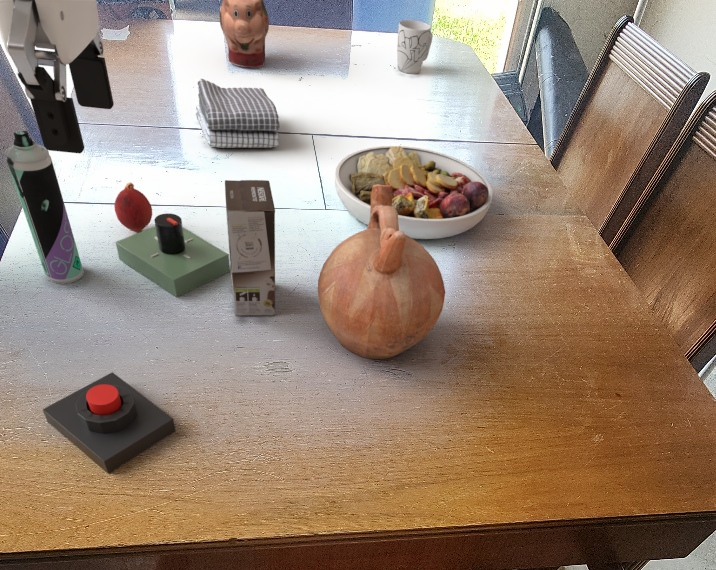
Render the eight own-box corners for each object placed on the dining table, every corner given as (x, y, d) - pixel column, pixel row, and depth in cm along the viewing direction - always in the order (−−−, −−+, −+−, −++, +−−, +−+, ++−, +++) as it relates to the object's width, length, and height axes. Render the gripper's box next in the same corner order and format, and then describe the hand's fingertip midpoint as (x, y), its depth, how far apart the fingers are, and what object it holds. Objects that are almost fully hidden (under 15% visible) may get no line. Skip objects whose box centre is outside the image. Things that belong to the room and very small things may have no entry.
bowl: (308, 218, 111) (309, 173, 105) (366, 158, 129) (370, 117, 123) (462, 264, 107) (473, 221, 100) (500, 196, 124) (512, 155, 118)
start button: (83, 405, 72) (79, 394, 71) (109, 391, 74) (105, 379, 72) (102, 420, 71) (98, 409, 69) (127, 405, 73) (124, 394, 71)
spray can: (69, 287, 91) (24, 145, 76) (38, 277, 92) (-13, 134, 76) (91, 270, 95) (52, 129, 79) (61, 260, 95) (16, 119, 80)
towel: (209, 153, 123) (205, 110, 117) (195, 117, 133) (191, 75, 127) (282, 151, 127) (282, 109, 121) (263, 115, 137) (262, 75, 131)
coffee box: (276, 316, 92) (275, 211, 79) (234, 316, 91) (226, 210, 78) (272, 282, 98) (270, 178, 85) (231, 282, 96) (223, 177, 84)
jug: (443, 377, 87) (478, 245, 71) (318, 374, 85) (326, 237, 69) (424, 302, 98) (451, 174, 83) (313, 297, 96) (319, 165, 80)
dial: (153, 247, 95) (148, 216, 91) (174, 238, 97) (169, 208, 93) (170, 257, 94) (165, 227, 90) (190, 248, 96) (186, 218, 92)
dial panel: (119, 259, 97) (114, 241, 95) (173, 236, 103) (170, 218, 100) (176, 297, 93) (173, 278, 90) (230, 271, 98) (228, 253, 96)
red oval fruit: (143, 244, 101) (134, 195, 94) (113, 235, 101) (101, 186, 95) (161, 228, 104) (153, 180, 98) (131, 220, 105) (122, 171, 99)
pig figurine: (220, 46, 163) (216, -21, 152) (266, 48, 165) (264, -18, 154) (224, 73, 151) (219, 2, 140) (273, 75, 153) (272, 6, 142)
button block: (47, 422, 74) (37, 398, 71) (116, 384, 80) (109, 360, 77) (108, 474, 71) (100, 450, 67) (176, 431, 76) (171, 407, 73)
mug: (415, 61, 171) (422, 17, 163) (437, 71, 167) (445, 26, 160) (387, 67, 165) (392, 21, 158) (408, 77, 162) (415, 31, 154)
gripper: (3, -172, 46) (68, 88, 59) (-105, -143, 35) (3, 165, 49) (104, -159, 46) (145, 96, 60) (27, -126, 36) (98, 175, 49)
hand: (81, 127), depth 54 cm, fingers open, 9 cm apart
